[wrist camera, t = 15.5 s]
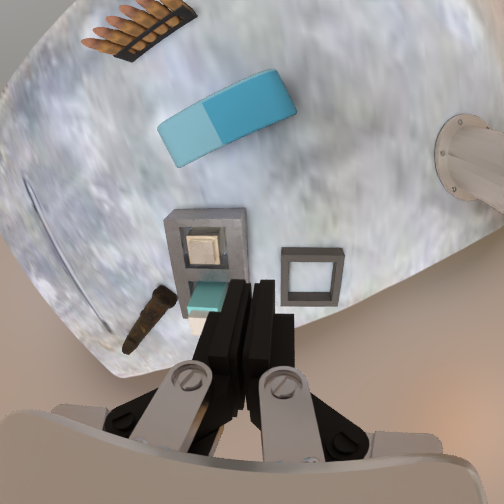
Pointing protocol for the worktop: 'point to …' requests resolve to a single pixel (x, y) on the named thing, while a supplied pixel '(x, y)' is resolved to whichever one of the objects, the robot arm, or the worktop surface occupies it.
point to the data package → (226, 116)
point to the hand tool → (149, 317)
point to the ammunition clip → (140, 28)
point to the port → (206, 248)
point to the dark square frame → (312, 256)
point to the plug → (205, 303)
